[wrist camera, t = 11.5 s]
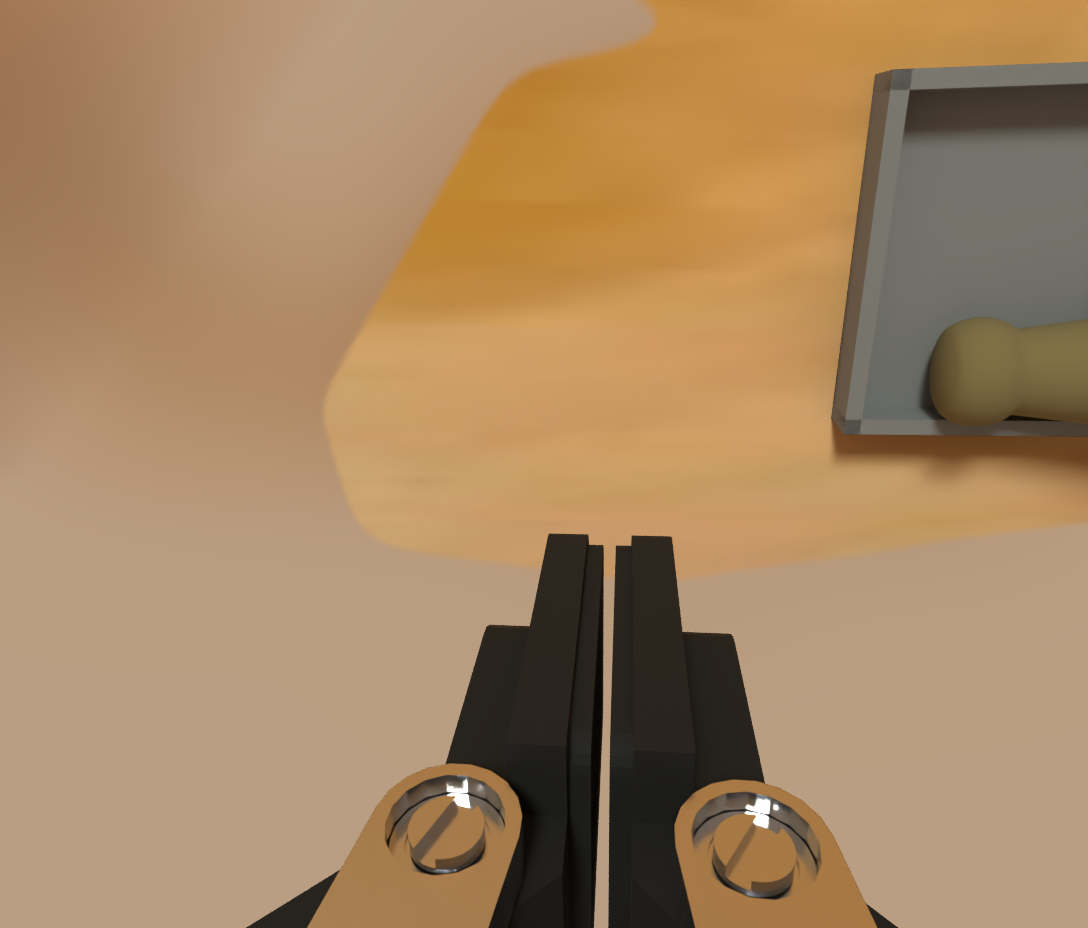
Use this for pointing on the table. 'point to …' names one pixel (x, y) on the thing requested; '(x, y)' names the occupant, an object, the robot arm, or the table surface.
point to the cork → (1010, 371)
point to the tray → (962, 232)
